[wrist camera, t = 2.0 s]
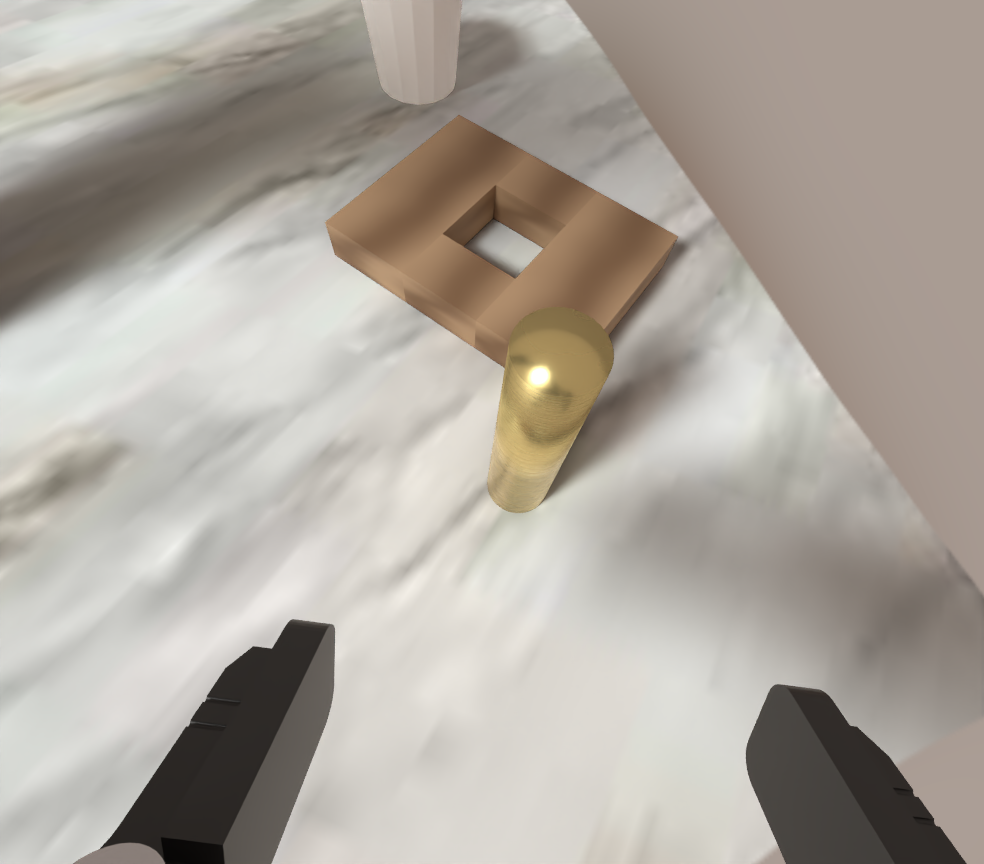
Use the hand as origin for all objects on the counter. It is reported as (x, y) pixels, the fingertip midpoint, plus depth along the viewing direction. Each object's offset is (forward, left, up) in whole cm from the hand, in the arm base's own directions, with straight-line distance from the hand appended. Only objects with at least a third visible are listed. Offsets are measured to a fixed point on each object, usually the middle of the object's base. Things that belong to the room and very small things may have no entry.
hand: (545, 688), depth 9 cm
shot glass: (-28, +28, -14) cm, 42 cm away
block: (-13, +19, -14) cm, 27 cm away
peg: (-4, +7, -14) cm, 16 cm away
